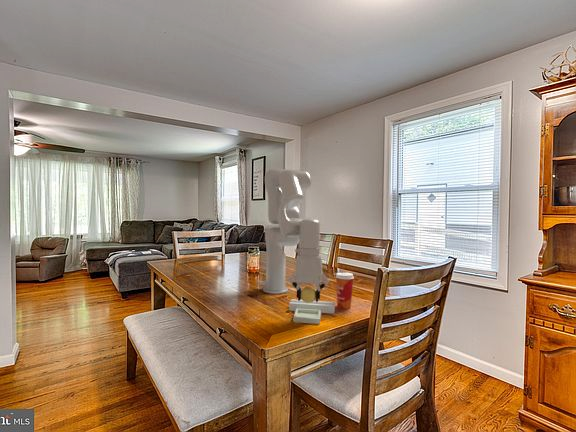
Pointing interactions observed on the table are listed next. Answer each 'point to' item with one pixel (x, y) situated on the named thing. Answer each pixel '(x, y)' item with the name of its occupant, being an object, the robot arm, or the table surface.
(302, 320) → the dish
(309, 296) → the ball
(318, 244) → the robot arm
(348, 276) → the paper cup
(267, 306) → the table surface
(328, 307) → the rails
